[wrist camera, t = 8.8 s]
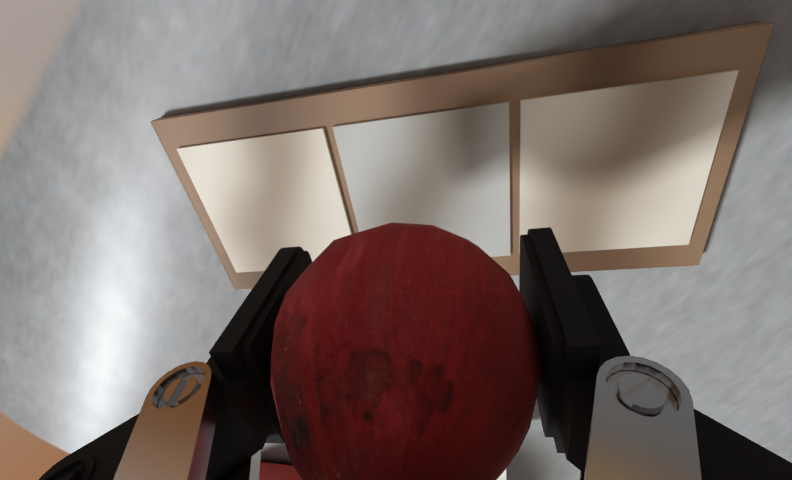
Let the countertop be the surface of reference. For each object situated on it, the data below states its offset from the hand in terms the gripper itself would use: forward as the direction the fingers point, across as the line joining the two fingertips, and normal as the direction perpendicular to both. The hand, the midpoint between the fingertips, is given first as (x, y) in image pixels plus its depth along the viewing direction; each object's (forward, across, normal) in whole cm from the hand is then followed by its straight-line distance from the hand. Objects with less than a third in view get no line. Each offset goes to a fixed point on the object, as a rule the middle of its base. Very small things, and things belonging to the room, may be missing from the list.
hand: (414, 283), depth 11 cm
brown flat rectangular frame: (+7, 0, 0) cm, 7 cm away
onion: (+1, 0, 0) cm, 1 cm away
